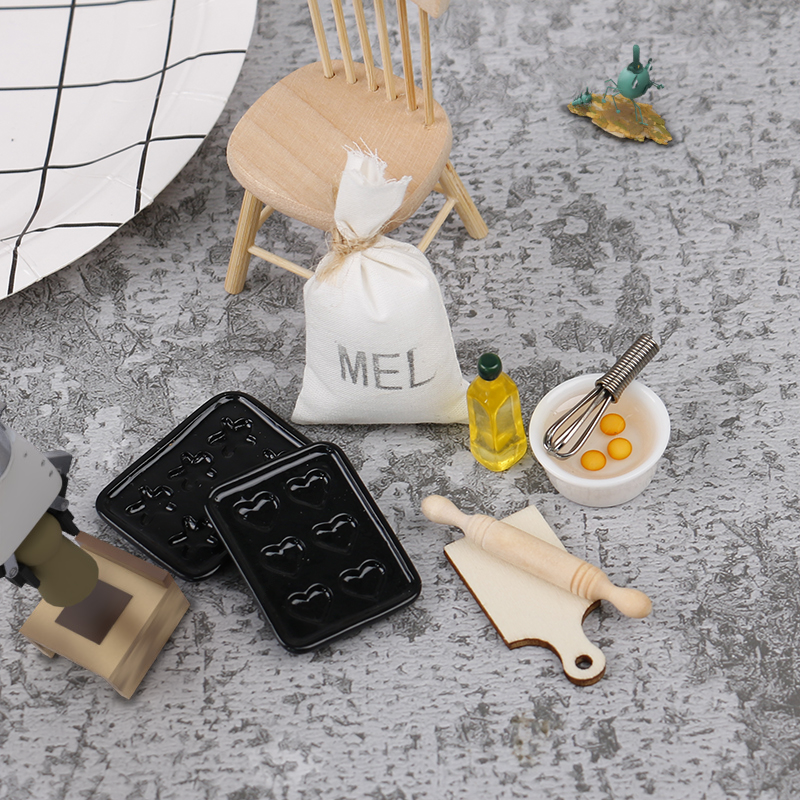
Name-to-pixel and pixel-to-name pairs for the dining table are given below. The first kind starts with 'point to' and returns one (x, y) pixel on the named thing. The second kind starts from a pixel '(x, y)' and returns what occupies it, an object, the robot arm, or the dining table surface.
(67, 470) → the robot arm
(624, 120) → the teal creature figurine
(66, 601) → the cork
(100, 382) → the dining table surface
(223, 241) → the dining table surface
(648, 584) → the dining table surface
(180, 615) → the wooden square frame
